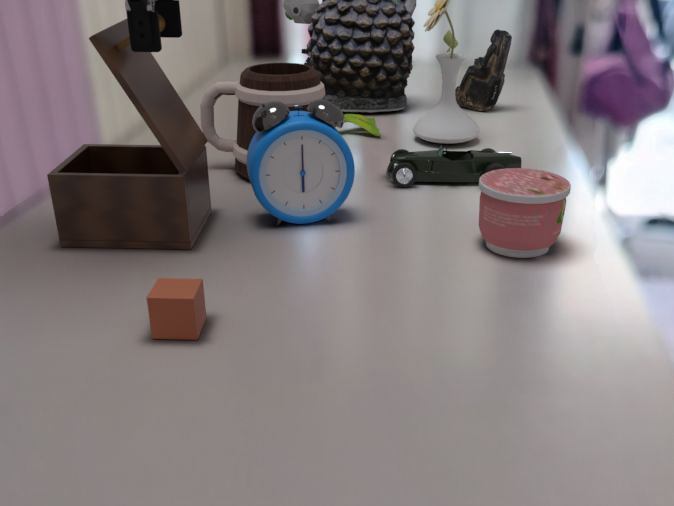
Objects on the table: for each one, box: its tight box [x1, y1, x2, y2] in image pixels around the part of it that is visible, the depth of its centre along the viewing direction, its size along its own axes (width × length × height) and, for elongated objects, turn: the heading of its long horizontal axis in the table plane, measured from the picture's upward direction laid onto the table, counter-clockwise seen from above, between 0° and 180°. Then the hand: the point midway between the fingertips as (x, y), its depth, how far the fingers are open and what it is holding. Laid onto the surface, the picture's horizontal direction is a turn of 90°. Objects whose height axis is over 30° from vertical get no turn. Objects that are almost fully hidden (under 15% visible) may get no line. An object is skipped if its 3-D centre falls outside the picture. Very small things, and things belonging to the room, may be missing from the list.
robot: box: [282, 0, 320, 67], centre depth 179 cm, size 12×15×30 cm
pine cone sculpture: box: [306, 0, 417, 113], centre depth 151 cm, size 21×15×25 cm
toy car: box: [385, 144, 522, 188], centre depth 117 cm, size 9×20×5 cm, turn 90°
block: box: [146, 277, 207, 341], centre depth 77 cm, size 4×4×4 cm
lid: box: [88, 14, 209, 174], centre depth 92 cm, size 17×13×5 cm
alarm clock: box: [247, 99, 356, 226], centre depth 101 cm, size 13×6×15 cm, turn 102°
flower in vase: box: [412, 0, 481, 145], centre depth 130 cm, size 13×11×25 cm
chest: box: [46, 143, 213, 250], centre depth 99 cm, size 16×13×9 cm
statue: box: [455, 28, 513, 112], centre depth 154 cm, size 6×12×15 cm, turn 46°
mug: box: [199, 62, 325, 181], centre depth 118 cm, size 20×15×15 cm
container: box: [478, 167, 572, 259], centre depth 95 cm, size 10×10×8 cm
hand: (158, 43), depth 90 cm, fingers open, 9 cm apart
